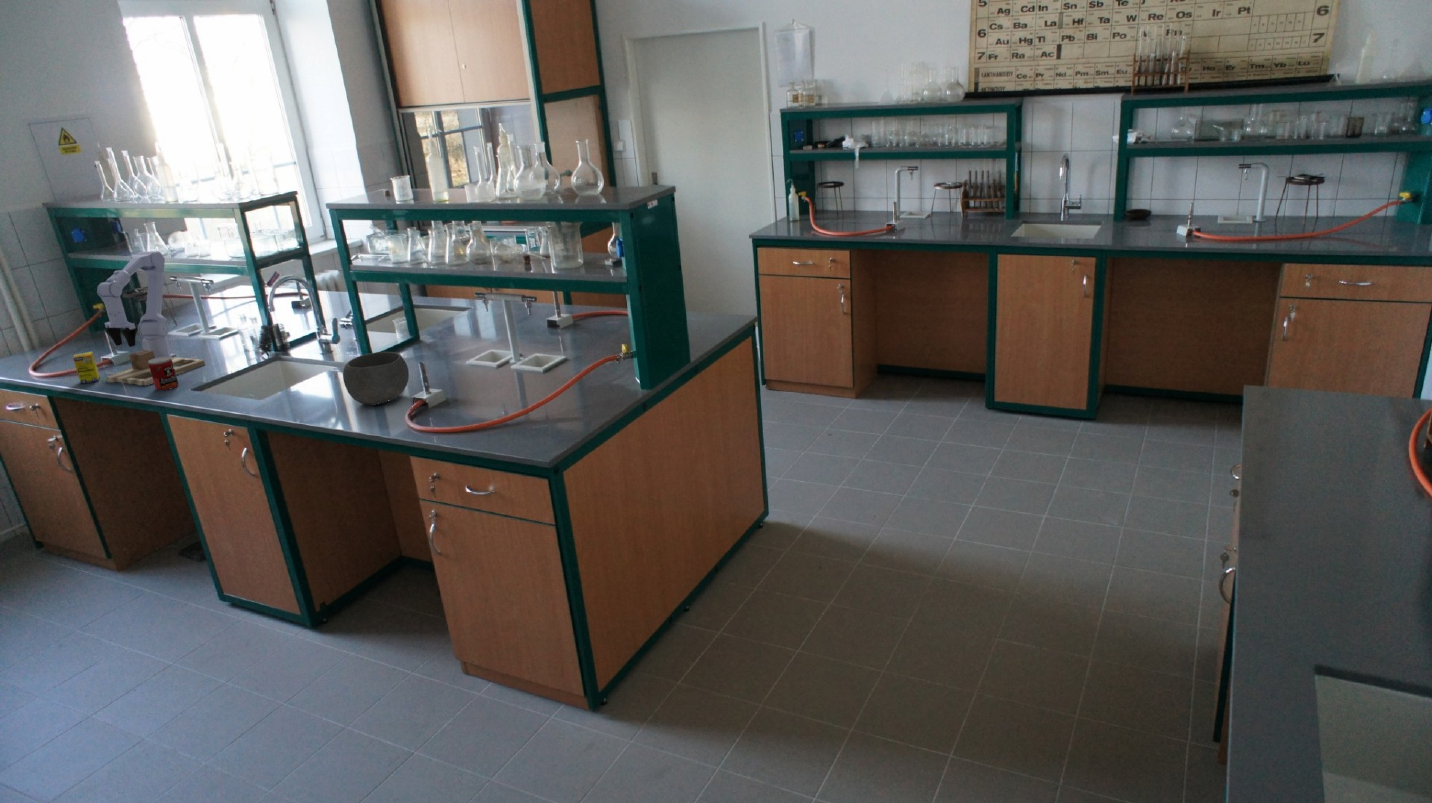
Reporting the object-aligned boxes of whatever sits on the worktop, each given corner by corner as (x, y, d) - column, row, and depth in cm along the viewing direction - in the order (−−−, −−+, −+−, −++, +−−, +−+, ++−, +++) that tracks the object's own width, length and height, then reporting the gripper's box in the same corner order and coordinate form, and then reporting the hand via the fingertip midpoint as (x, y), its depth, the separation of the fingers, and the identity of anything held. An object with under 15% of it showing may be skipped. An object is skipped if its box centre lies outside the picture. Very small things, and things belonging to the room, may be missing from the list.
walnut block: (133, 368, 366) (128, 354, 364) (146, 364, 371) (142, 349, 369) (143, 370, 364) (139, 355, 362) (157, 365, 369) (153, 350, 367)
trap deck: (107, 381, 359) (105, 376, 358) (166, 360, 381) (165, 356, 380) (146, 386, 350) (145, 381, 350) (205, 364, 373) (203, 359, 372)
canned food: (163, 392, 343) (154, 363, 339) (151, 389, 347) (143, 361, 343) (183, 385, 349) (175, 357, 345) (171, 382, 353) (163, 355, 349)
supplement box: (81, 384, 357) (72, 357, 353) (82, 380, 362) (74, 354, 358) (99, 381, 360) (90, 354, 356) (100, 377, 365) (92, 351, 361)
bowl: (378, 388, 332) (370, 348, 327) (425, 392, 324) (418, 351, 319) (335, 408, 314) (326, 367, 309) (384, 414, 306) (375, 371, 301)
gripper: (93, 314, 362) (103, 347, 367) (119, 315, 356) (129, 349, 361) (110, 309, 368) (120, 342, 373) (135, 311, 363) (145, 344, 367)
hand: (125, 345), depth 367 cm, fingers open, 7 cm apart
